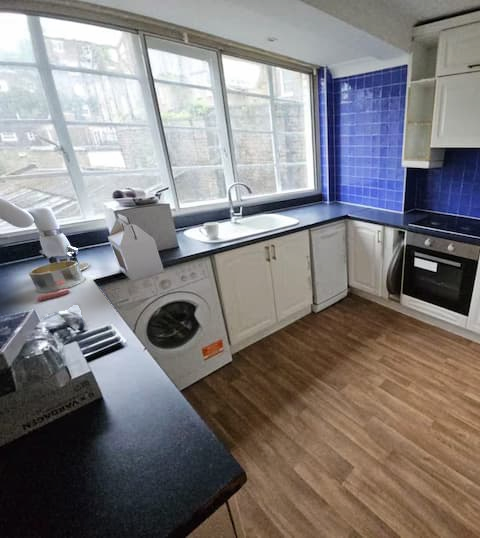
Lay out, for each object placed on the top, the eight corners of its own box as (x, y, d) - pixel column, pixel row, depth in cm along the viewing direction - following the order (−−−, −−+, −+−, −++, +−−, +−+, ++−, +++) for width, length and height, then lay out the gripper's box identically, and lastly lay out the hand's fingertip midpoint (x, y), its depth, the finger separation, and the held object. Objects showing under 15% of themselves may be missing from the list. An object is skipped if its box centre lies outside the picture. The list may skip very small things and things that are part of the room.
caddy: (27, 293, 126) (17, 275, 123) (58, 278, 141) (51, 261, 137) (64, 291, 127) (56, 273, 124) (92, 276, 141) (85, 259, 138)
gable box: (120, 270, 147) (99, 215, 136) (150, 262, 157) (132, 210, 146) (132, 281, 134) (110, 221, 123) (164, 272, 143) (146, 215, 132)
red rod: (38, 302, 118) (36, 298, 117) (37, 300, 119) (35, 296, 118) (71, 293, 125) (69, 289, 124) (70, 291, 126) (68, 287, 125)
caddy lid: (35, 278, 141) (29, 265, 138) (65, 265, 156) (60, 253, 154) (71, 276, 142) (66, 263, 139) (97, 263, 157) (93, 252, 154)
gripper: (24, 235, 137) (40, 269, 144) (62, 234, 138) (77, 267, 145) (39, 231, 144) (54, 263, 151) (76, 229, 145) (89, 262, 152)
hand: (65, 265), depth 148 cm, fingers open, 9 cm apart
